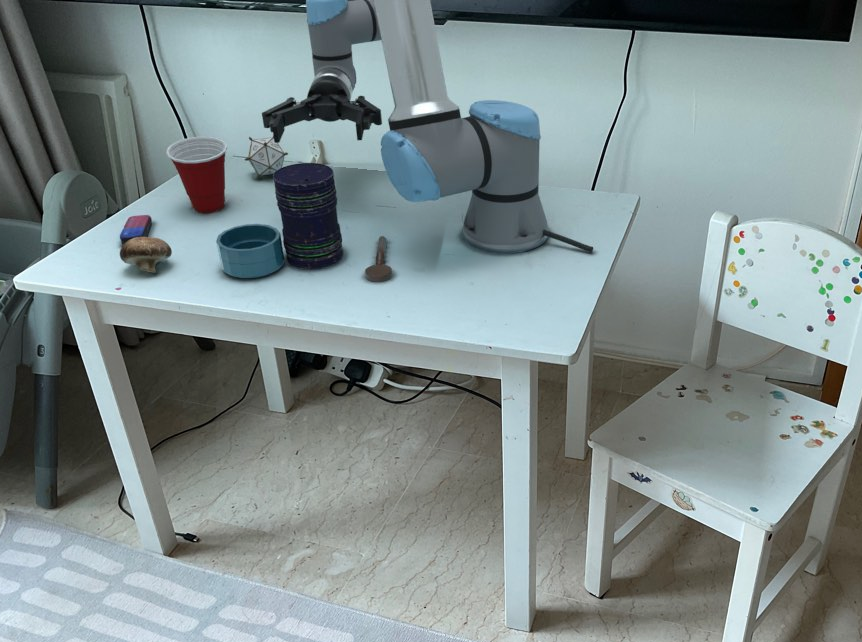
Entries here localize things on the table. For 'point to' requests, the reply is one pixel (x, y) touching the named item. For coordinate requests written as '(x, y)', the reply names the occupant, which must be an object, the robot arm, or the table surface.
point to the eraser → (136, 227)
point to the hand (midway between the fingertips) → (317, 133)
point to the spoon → (379, 264)
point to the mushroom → (145, 252)
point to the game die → (265, 156)
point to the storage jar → (309, 215)
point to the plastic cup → (201, 171)
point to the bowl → (250, 250)
